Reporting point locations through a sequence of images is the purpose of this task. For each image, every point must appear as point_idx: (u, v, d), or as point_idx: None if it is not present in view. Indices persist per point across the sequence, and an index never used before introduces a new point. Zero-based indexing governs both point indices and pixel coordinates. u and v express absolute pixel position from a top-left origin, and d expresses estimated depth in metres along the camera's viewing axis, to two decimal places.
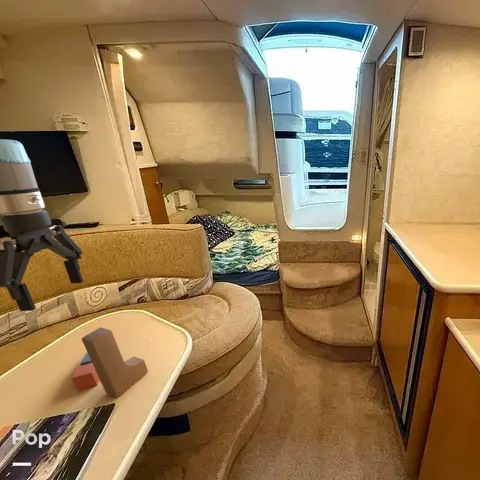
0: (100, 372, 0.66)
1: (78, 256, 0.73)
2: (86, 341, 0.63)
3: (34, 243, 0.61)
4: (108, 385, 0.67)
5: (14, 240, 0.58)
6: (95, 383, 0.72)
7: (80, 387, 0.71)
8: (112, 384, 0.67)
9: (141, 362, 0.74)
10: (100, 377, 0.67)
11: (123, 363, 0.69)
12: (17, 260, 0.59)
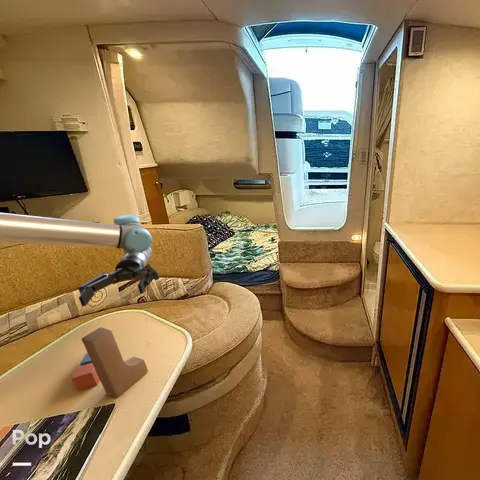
0: (100, 372, 0.66)
1: None
2: (86, 341, 0.63)
3: None
4: (108, 385, 0.67)
5: None
6: (95, 383, 0.72)
7: (80, 387, 0.71)
8: (112, 384, 0.67)
9: (141, 362, 0.74)
10: (100, 377, 0.67)
11: (123, 363, 0.69)
12: None
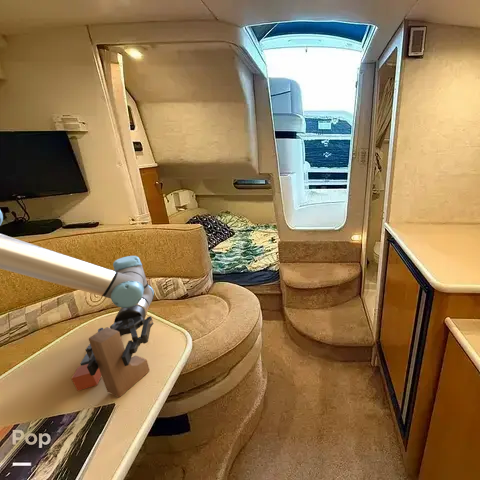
0: (105, 372, 0.66)
1: None
2: (94, 342, 0.63)
3: None
4: (112, 384, 0.67)
5: None
6: (95, 383, 0.72)
7: (80, 387, 0.71)
8: (115, 384, 0.67)
9: (144, 362, 0.74)
10: (103, 376, 0.67)
11: None
12: (136, 332, 0.77)
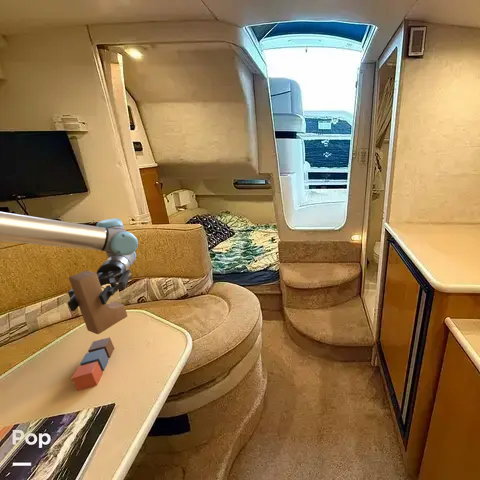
0: (84, 309, 0.74)
1: None
2: (73, 280, 0.71)
3: None
4: (91, 322, 0.75)
5: None
6: (95, 383, 0.72)
7: (80, 387, 0.71)
8: (94, 321, 0.75)
9: (121, 306, 0.82)
10: (83, 314, 0.75)
11: (105, 304, 0.77)
12: (115, 281, 0.85)
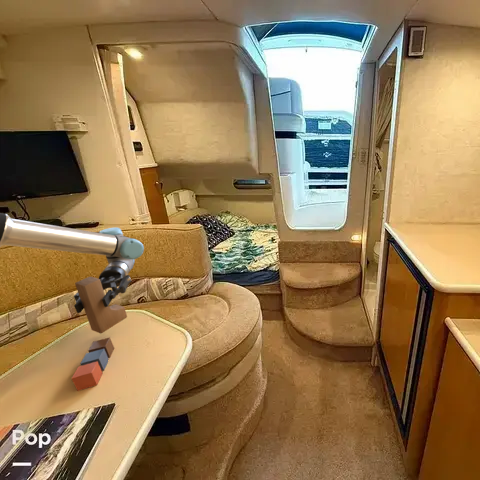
0: (89, 311, 0.83)
1: None
2: (79, 285, 0.80)
3: (116, 286, 0.97)
4: (95, 322, 0.84)
5: None
6: (95, 383, 0.72)
7: (80, 387, 0.71)
8: (97, 321, 0.84)
9: (122, 308, 0.91)
10: (88, 316, 0.84)
11: (107, 307, 0.86)
12: (116, 285, 0.94)
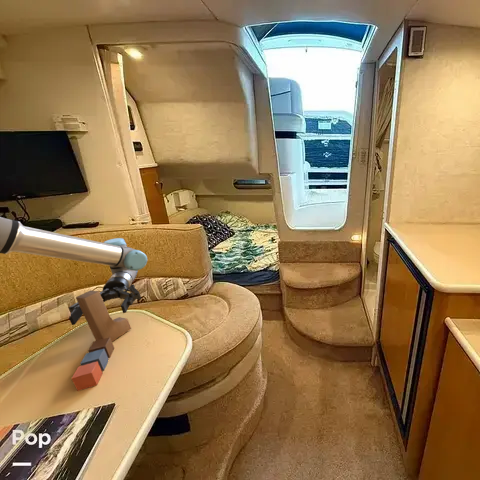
0: (92, 324, 0.85)
1: None
2: (79, 299, 0.82)
3: None
4: (98, 335, 0.86)
5: None
6: (95, 383, 0.72)
7: (80, 387, 0.71)
8: (101, 333, 0.86)
9: (125, 320, 0.93)
10: (92, 329, 0.86)
11: (110, 318, 0.88)
12: None
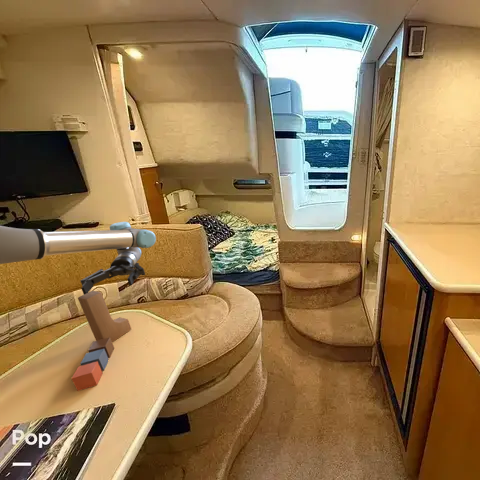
0: (93, 324, 0.85)
1: None
2: (81, 299, 0.82)
3: None
4: (99, 335, 0.86)
5: None
6: (95, 383, 0.72)
7: (80, 387, 0.71)
8: (102, 334, 0.86)
9: (125, 321, 0.93)
10: (92, 329, 0.86)
11: (111, 319, 0.88)
12: None
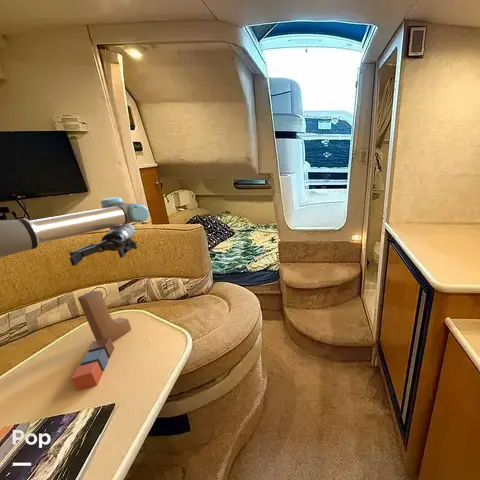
0: (93, 324, 0.85)
1: None
2: (81, 299, 0.82)
3: None
4: (99, 335, 0.86)
5: None
6: (95, 383, 0.72)
7: (80, 387, 0.71)
8: (102, 334, 0.86)
9: (125, 321, 0.93)
10: (92, 329, 0.86)
11: (111, 319, 0.88)
12: None
